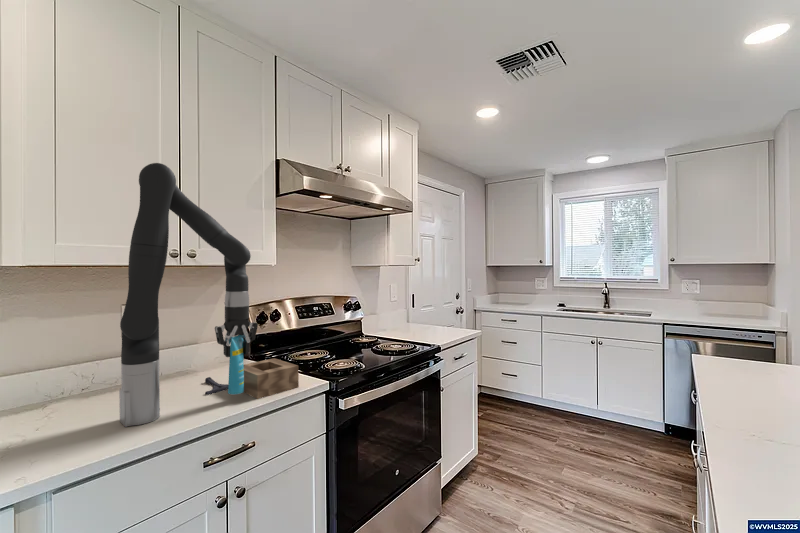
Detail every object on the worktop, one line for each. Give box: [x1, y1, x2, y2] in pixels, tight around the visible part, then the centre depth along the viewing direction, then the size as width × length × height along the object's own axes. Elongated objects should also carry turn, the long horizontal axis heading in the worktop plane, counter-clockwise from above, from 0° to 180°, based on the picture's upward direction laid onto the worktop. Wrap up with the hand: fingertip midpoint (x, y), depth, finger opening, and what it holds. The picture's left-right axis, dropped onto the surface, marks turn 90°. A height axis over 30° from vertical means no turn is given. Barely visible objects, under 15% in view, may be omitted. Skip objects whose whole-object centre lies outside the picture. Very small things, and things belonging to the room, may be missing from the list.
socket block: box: [243, 358, 300, 400], centre depth 139 cm, size 16×17×8 cm
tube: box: [227, 335, 244, 396], centre depth 127 cm, size 7×5×19 cm, turn 3°
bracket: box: [204, 376, 228, 396], centre depth 142 cm, size 14×15×3 cm
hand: (236, 355), depth 127 cm, fingers closed on tube, 5 cm apart
